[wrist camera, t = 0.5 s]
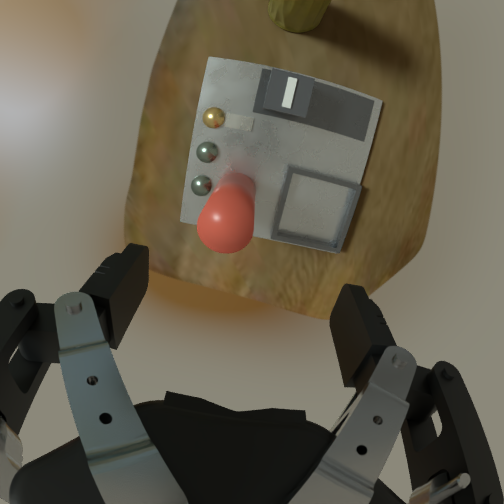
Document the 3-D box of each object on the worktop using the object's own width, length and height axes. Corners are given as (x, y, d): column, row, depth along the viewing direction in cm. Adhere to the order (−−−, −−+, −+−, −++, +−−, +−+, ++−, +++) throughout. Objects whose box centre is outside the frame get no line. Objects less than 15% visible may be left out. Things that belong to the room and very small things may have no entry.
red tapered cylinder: (219, 169, 32) (201, 195, 22) (259, 176, 32) (259, 206, 23) (212, 206, 34) (193, 247, 24) (251, 214, 35) (247, 258, 25)
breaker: (270, 75, 27) (272, 67, 22) (306, 83, 27) (315, 78, 23) (262, 108, 29) (263, 107, 24) (298, 117, 29) (306, 117, 25)
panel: (209, 57, 27) (207, 54, 25) (380, 100, 28) (386, 100, 27) (181, 219, 36) (177, 225, 34) (335, 251, 37) (338, 257, 36)
